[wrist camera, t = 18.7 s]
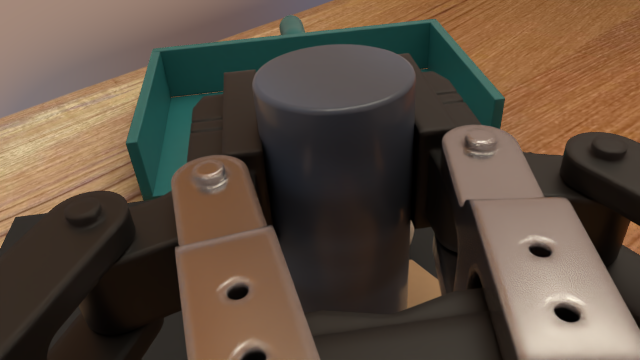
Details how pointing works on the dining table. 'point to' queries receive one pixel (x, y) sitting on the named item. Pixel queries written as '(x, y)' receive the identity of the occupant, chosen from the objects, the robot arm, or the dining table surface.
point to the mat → (169, 345)
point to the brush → (343, 175)
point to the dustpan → (248, 54)
